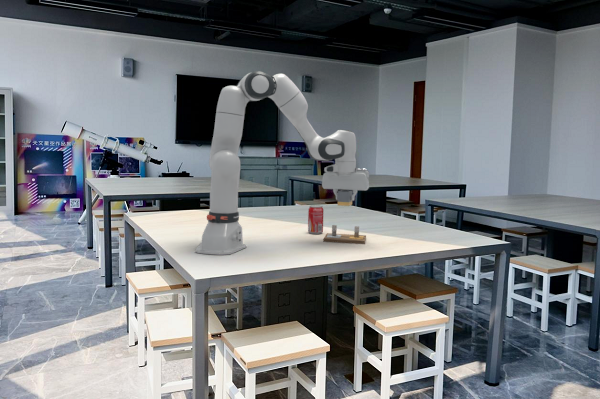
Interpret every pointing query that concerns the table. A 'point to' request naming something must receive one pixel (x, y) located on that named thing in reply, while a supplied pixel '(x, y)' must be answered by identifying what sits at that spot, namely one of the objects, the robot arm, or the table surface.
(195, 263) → the table surface
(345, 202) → the sleeve
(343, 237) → the pin board
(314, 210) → the soda can
